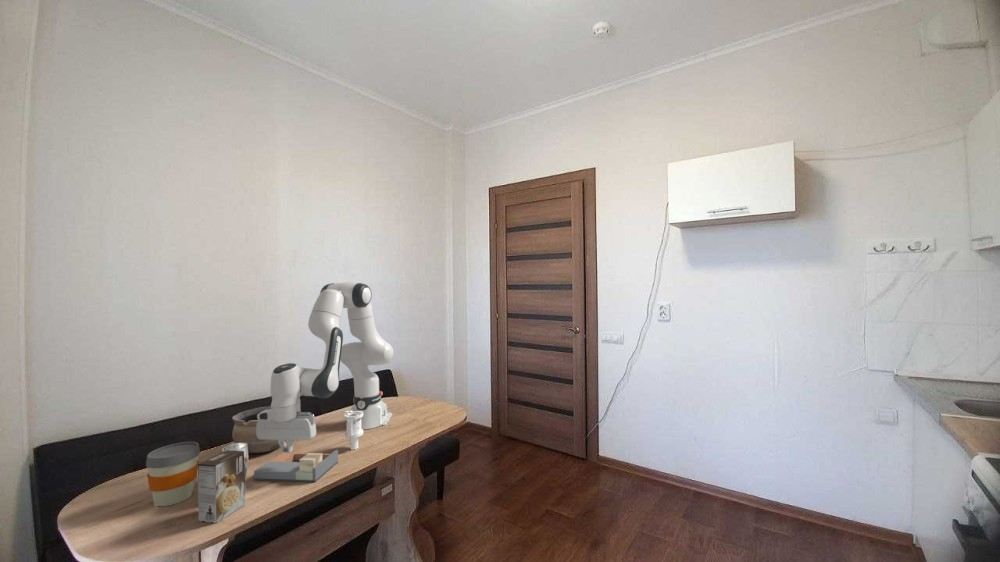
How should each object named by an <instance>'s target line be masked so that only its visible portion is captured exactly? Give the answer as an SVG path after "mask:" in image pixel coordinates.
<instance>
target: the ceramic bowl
mask: <svg viewBox="0 0 1000 562" xmlns="http://www.w3.org/2000/svg"><path fill="white" fill-rule="evenodd" d="M269 408H271V405H268V406H260V407H255V408H252V409H247V410H244V411H241V412H238V413H237V414H235V415H233V416H232V418H231V419H232V420H233V422H234V425H233V427H232V433H231V434H232V435H231V436H232V440H233V441H234V444H235V443H247V444H248V454H263V453H268V452H272V451H275V450H277V449H278V448H281V446H280V445H279V443H278V440H264V439H258V437H257V435H256V426H257V422H258V419H257V414H259V413H260V412H262V411H264V410H266V409H269ZM286 441H287V440H285V443H286Z"/></svg>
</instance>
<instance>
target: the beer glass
mask: <svg viewBox="0 0 1000 562" xmlns="http://www.w3.org/2000/svg"><path fill="white" fill-rule="evenodd" d="M227 450H230V451H244V474H245V479H246V477H247V472H248V471H247V470H248V467H249V452H248V444H247V443H235V442H234V443H231V444H229V445H226V446H224V447H223V448H222V449H221V453H222V452H224V451H227ZM247 492H248V489H247V484H246V483H245V495H246V494H247Z"/></svg>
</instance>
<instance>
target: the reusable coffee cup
mask: <svg viewBox="0 0 1000 562" xmlns="http://www.w3.org/2000/svg"><path fill="white" fill-rule="evenodd" d="M200 453H201V452H200V444H199V443H198V442H196V441H184V442H183V441H182V442H176V443H171V444H169V445H165V446H162V447H158V448H156V449H154V450H152V451H150V452H148V454H147V456H146V461H145V462H146V463H145V467H146V468H147V471H148V472H147V474H146V476H147V477H146V478H147V483H148V488H149V491H151V494H152V500H153V505H154V506H155V505H156V506H155V507H157V506H165V507H168V506H167V505H170V506H172V505H171V504H174V505H176V504H175V503H177V504H179V503H182V502H184V501H186V500H188V499H189V498H191V496H192V495H193V492H194V486H195V479H196V478H198V464H199V463H200V461H199V460H198V459H199V455H200ZM187 498H188V499H187ZM185 499H186V500H185ZM183 500H184V501H183ZM181 501H182V502H181ZM178 502H179V503H178Z"/></svg>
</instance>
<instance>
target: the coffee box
mask: <svg viewBox="0 0 1000 562" xmlns="http://www.w3.org/2000/svg"><path fill="white" fill-rule="evenodd" d="M197 484H198V485H197V486H198V487H197V488H198V489H197V490H198V493H197V494H198V497H197V498H198V521H199V522H202V521H205V522H204V523H211V522H213V523H212V524H217V522H218V523H219V522H222V520H224V519H225V518H227V517H228V516H230V515H231V514H233V513H235V512H236V511H237V510H239V509H240V508H242V507H244V506H245V505H246V494H245V484H246V478H245V474H244V451H230V450H227V451H224V452H222V451H221V452H220V453H218V454H216V455H213V456H211V457H210V458H207V459H205V460H204V461H201V462H199V464H198V471H197Z"/></svg>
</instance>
